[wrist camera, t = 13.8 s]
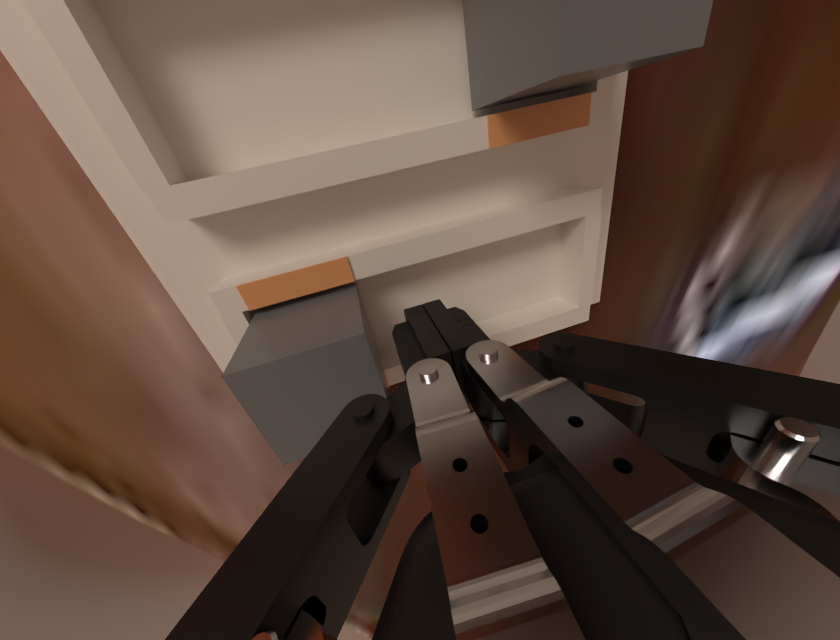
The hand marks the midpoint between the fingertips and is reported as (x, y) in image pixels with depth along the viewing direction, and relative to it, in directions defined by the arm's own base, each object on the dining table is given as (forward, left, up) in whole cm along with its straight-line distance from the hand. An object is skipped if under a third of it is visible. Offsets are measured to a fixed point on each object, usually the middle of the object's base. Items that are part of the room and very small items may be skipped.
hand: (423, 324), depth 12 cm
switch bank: (-4, +1, -4) cm, 6 cm away
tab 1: (0, -4, -2) cm, 5 cm away
